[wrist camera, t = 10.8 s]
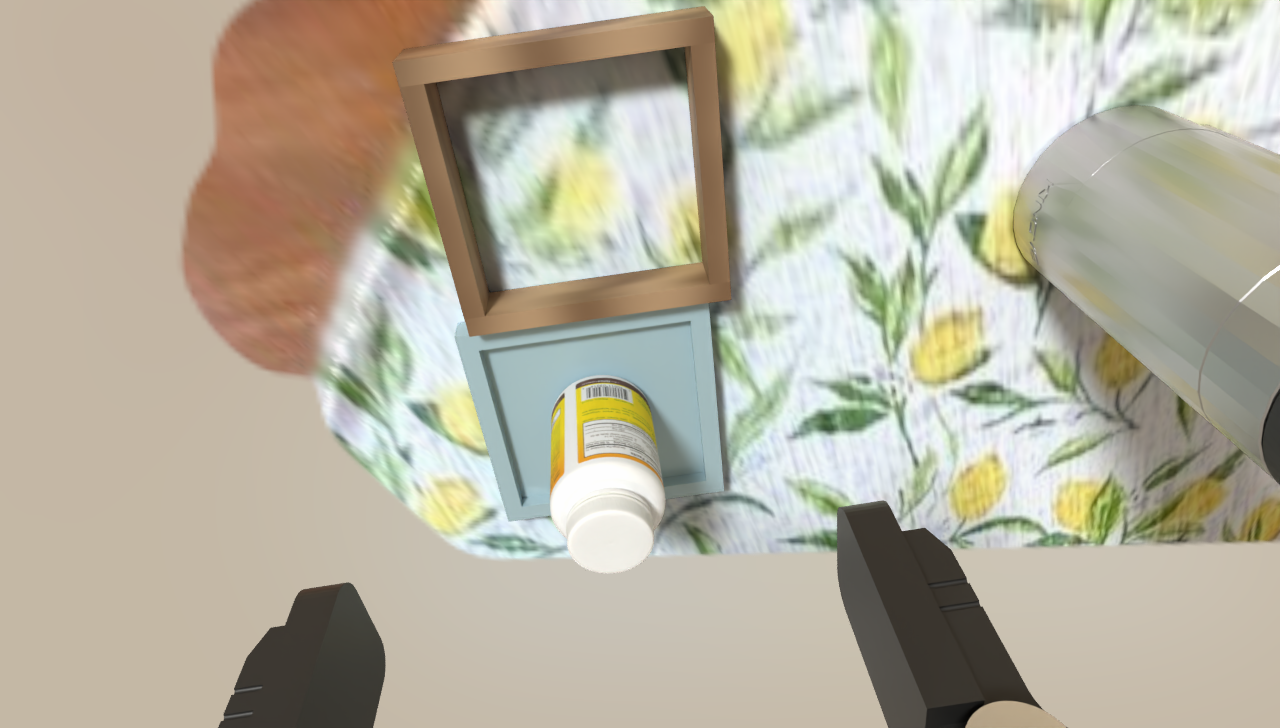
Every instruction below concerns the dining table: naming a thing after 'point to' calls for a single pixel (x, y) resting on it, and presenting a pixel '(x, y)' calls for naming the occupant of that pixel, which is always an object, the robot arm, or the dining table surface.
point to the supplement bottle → (605, 473)
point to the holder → (555, 48)
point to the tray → (564, 353)
